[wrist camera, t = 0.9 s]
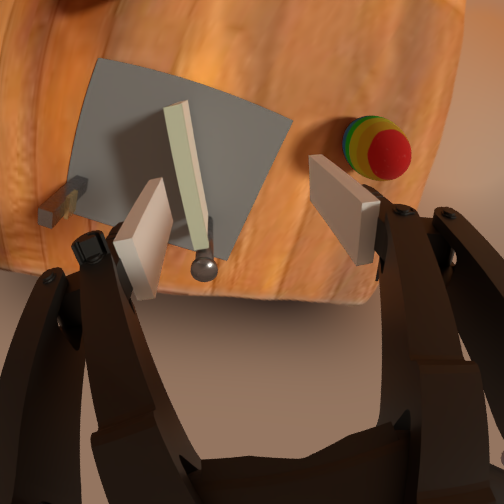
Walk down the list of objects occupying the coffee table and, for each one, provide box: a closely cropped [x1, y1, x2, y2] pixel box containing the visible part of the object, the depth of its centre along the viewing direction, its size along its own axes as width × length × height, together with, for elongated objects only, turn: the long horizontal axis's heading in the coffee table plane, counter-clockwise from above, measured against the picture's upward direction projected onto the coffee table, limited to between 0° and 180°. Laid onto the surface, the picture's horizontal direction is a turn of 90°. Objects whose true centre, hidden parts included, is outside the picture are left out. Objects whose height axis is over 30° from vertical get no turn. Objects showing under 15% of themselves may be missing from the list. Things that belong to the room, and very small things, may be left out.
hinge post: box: [191, 216, 218, 282], centre depth 35 cm, size 3×3×12 cm
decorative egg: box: [342, 116, 411, 181], centre depth 31 cm, size 8×8×10 cm
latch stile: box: [38, 175, 89, 229], centre depth 29 cm, size 3×3×11 cm
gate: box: [163, 100, 209, 250], centre depth 30 cm, size 15×2×9 cm, turn 6°
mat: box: [67, 58, 293, 261], centre depth 34 cm, size 26×22×1 cm
